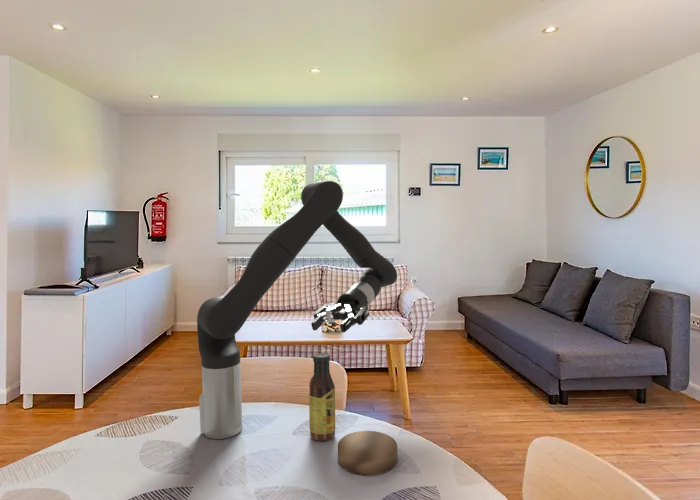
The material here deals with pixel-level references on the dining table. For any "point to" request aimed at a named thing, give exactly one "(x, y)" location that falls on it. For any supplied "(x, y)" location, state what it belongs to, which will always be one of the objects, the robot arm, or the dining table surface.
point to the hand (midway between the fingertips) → (327, 328)
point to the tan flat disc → (367, 453)
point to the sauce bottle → (322, 400)
